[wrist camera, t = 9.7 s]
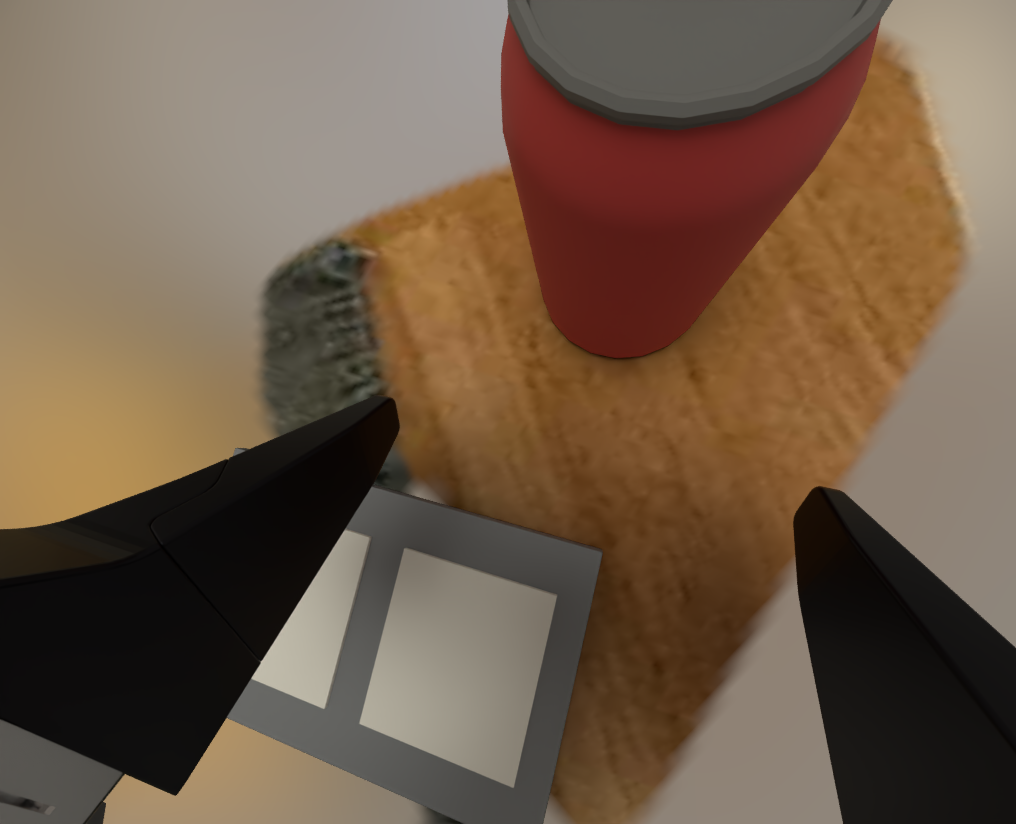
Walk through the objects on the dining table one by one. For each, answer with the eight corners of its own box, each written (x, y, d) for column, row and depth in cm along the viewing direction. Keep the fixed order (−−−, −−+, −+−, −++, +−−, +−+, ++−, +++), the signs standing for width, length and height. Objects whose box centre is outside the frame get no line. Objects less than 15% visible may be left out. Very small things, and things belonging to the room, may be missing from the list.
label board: (537, 841, 16) (535, 860, 15) (177, 683, 19) (159, 692, 18) (602, 549, 16) (602, 553, 16) (245, 448, 20) (231, 447, 19)
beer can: (740, 272, 17) (1106, -172, 5) (630, 394, 17) (736, 240, 5) (613, 184, 18) (667, -324, 6) (512, 298, 18) (388, 6, 7)
